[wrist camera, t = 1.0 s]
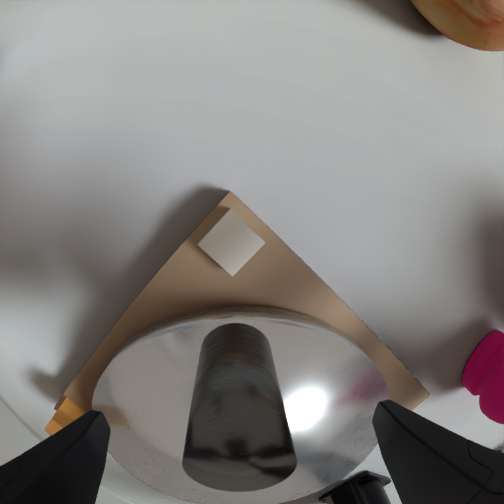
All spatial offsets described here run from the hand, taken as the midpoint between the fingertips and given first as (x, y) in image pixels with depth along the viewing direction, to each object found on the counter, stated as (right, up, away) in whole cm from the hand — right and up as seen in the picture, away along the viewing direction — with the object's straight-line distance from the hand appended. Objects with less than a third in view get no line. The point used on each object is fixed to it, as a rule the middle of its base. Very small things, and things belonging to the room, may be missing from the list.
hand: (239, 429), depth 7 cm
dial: (0, -6, +8) cm, 10 cm away
